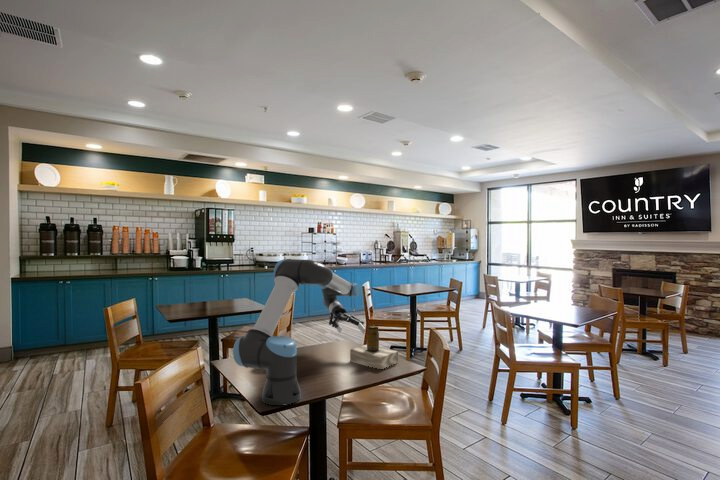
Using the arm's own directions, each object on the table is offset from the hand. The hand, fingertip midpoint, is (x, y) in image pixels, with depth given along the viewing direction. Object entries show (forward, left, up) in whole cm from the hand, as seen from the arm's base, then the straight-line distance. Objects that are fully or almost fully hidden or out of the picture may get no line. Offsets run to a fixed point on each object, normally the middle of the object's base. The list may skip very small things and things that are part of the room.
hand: (352, 330), depth 195 cm
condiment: (+10, -3, -10) cm, 15 cm away
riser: (+11, -3, -16) cm, 19 cm away
